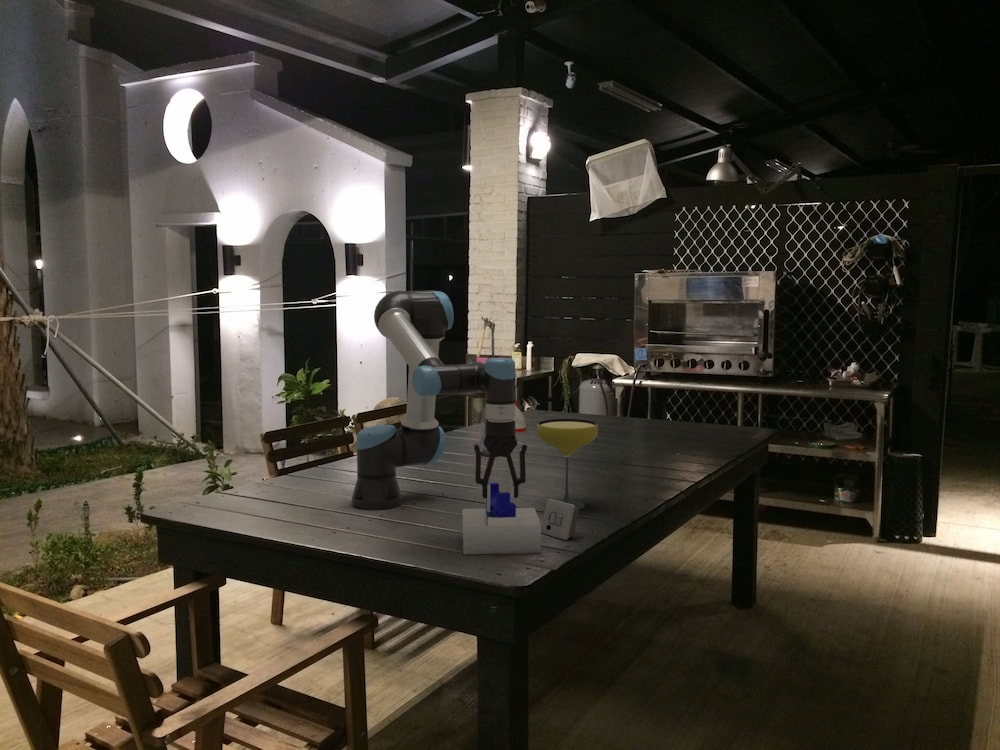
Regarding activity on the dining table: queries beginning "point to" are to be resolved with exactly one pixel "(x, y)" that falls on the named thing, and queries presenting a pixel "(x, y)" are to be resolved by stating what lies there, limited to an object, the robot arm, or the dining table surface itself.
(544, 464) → the dining table surface
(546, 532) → the electrical switch
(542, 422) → the cocktail glass
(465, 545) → the white boxy block
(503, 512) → the blue stepped piece
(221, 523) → the dining table surface
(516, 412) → the kitchen timer
